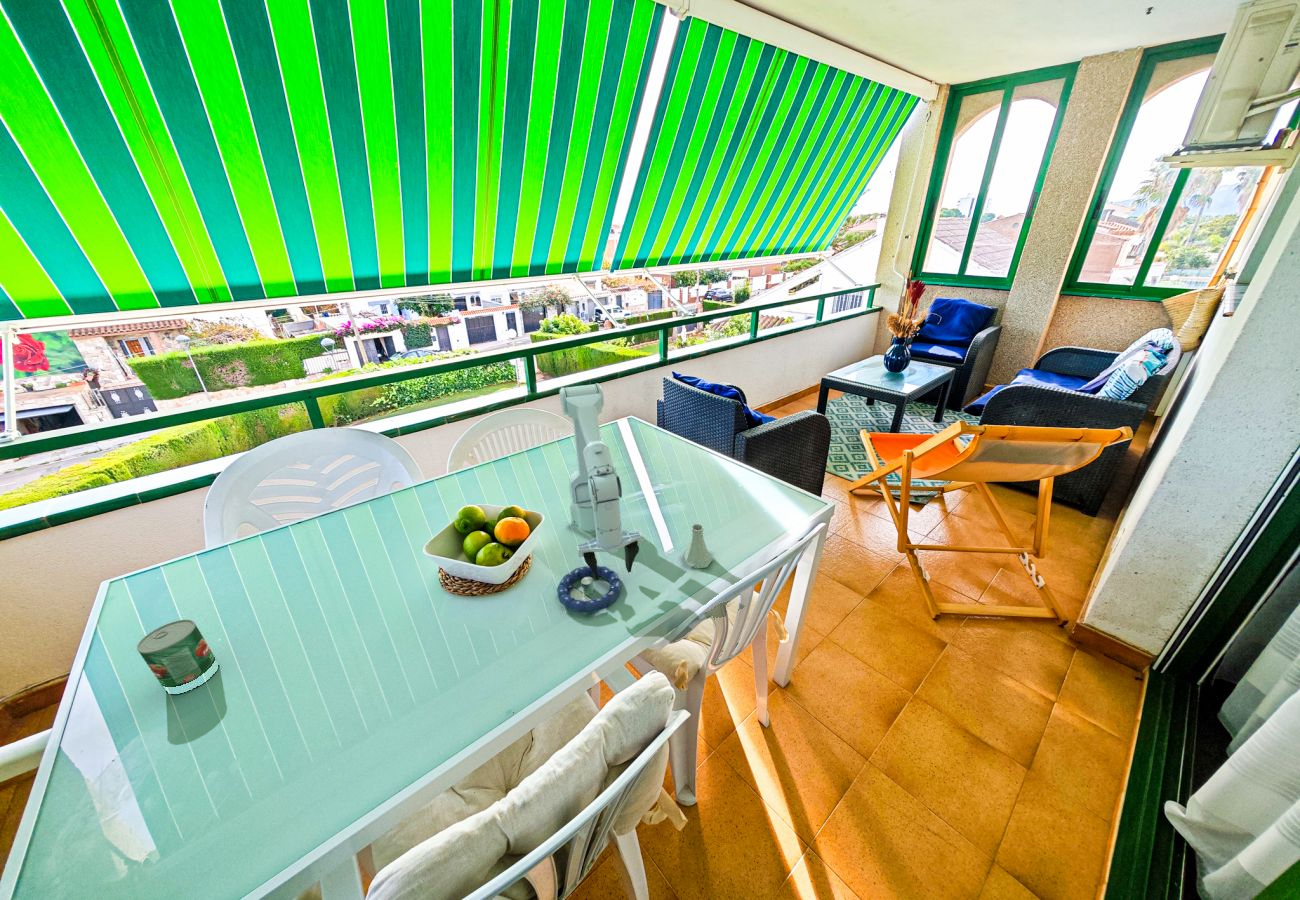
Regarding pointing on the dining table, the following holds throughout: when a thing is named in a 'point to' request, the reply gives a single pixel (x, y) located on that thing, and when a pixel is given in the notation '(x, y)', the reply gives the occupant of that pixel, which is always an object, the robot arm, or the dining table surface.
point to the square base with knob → (587, 590)
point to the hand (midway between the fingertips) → (612, 573)
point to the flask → (697, 548)
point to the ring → (592, 604)
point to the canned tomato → (176, 653)
